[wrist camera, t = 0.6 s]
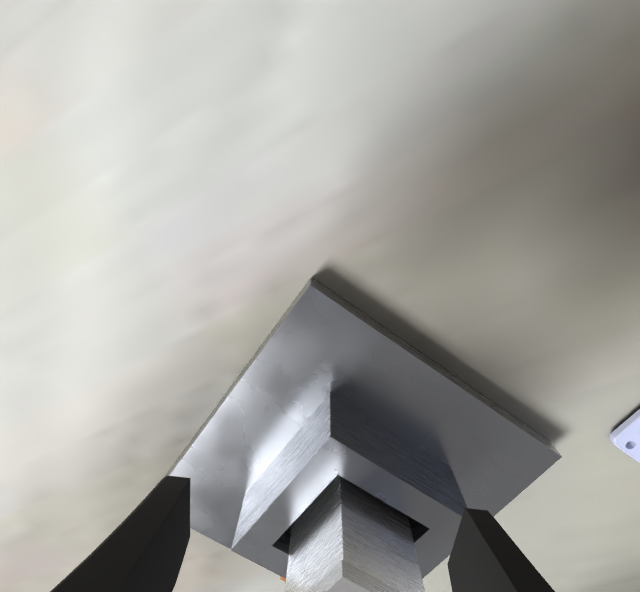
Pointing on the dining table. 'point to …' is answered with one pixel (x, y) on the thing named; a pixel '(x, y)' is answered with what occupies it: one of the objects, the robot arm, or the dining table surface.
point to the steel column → (351, 545)
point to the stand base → (350, 437)
